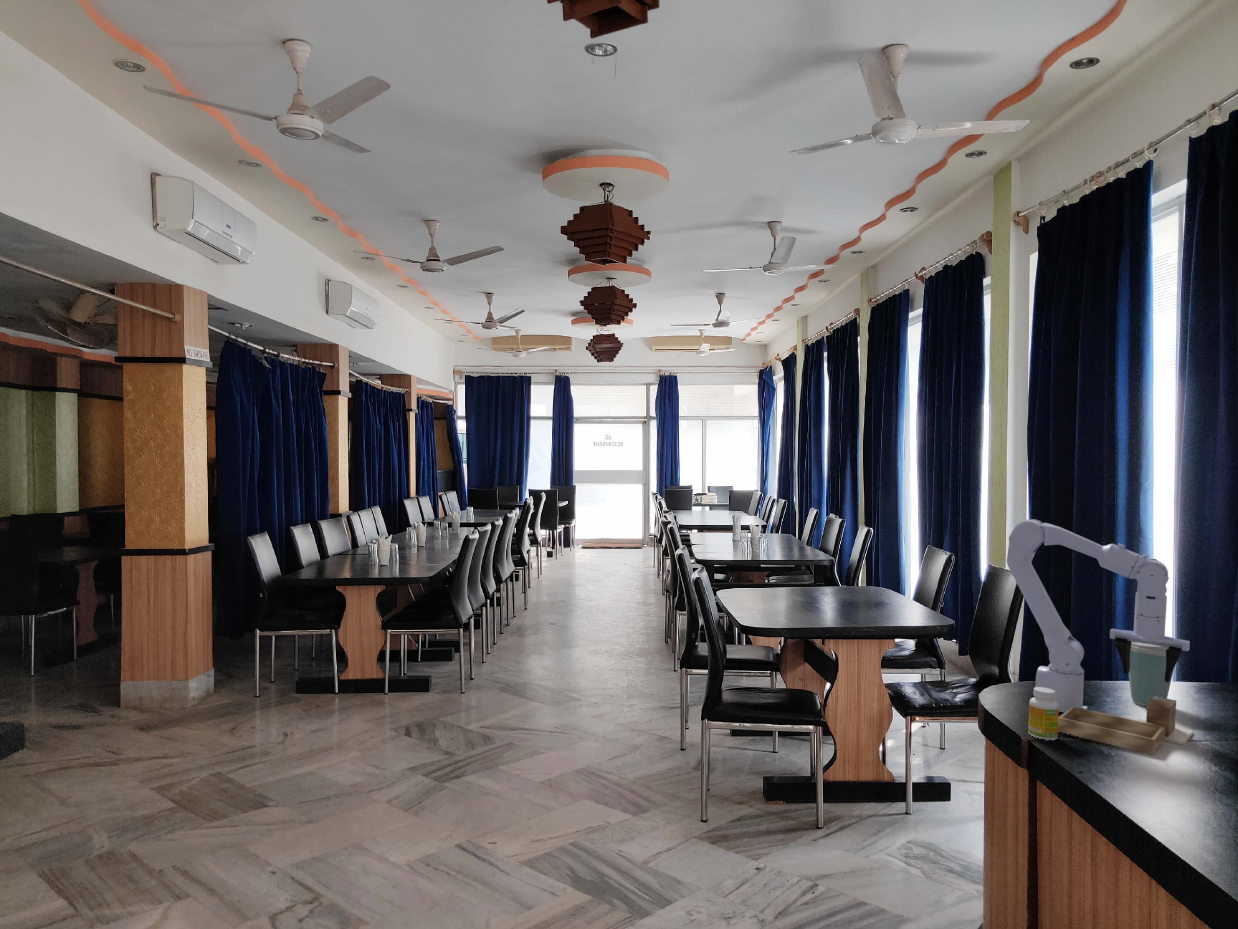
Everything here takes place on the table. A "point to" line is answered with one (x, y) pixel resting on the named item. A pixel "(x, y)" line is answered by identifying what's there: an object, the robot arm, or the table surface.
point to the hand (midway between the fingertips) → (1146, 677)
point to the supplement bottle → (1043, 714)
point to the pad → (1177, 735)
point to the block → (1162, 713)
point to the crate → (1112, 730)
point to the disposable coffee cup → (1147, 672)
